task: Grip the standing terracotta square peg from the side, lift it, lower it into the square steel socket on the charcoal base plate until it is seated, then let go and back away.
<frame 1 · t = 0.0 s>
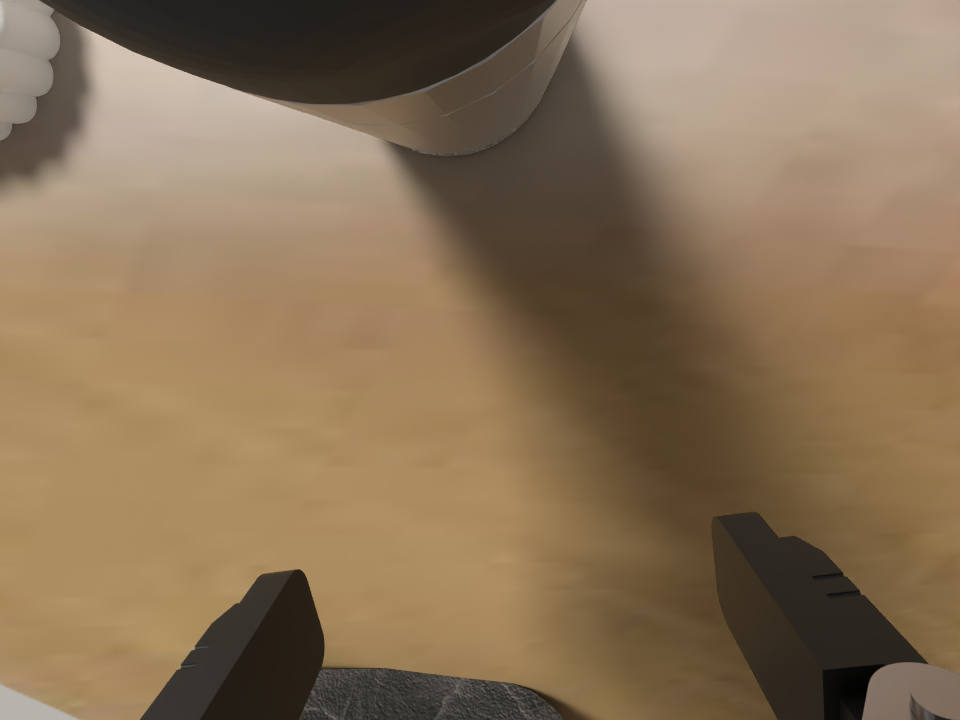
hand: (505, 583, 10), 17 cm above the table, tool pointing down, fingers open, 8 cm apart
hammer: (411, 695, 35), on the table
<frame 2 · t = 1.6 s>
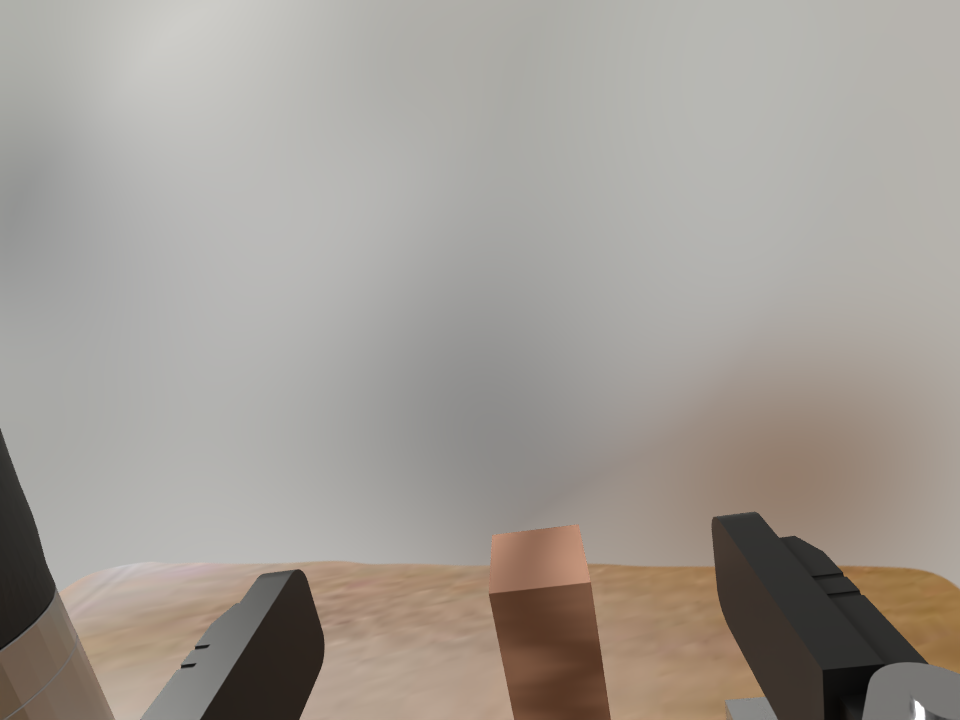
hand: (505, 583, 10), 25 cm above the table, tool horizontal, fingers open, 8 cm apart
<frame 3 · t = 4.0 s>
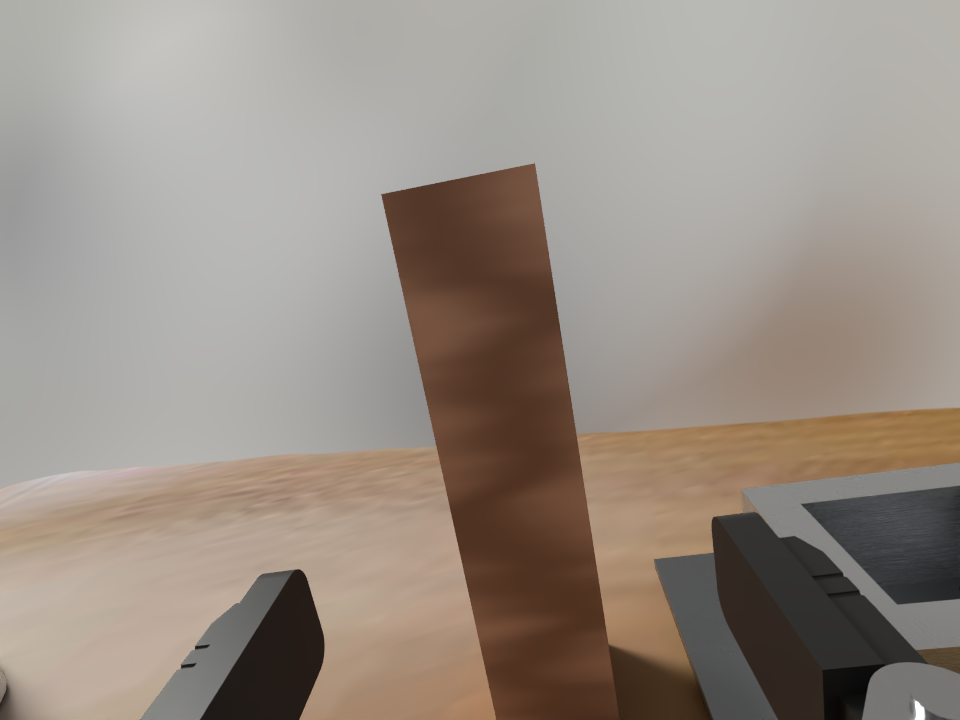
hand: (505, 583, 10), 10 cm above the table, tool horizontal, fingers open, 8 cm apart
socket base: (931, 664, 19), on the table
square peg: (556, 688, 20), on the table
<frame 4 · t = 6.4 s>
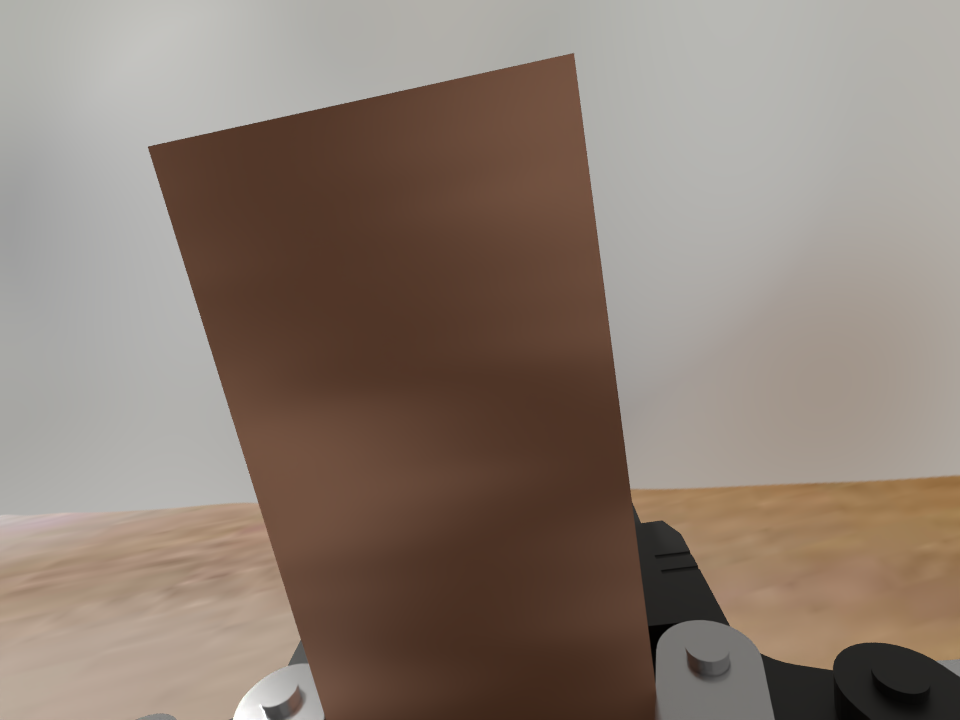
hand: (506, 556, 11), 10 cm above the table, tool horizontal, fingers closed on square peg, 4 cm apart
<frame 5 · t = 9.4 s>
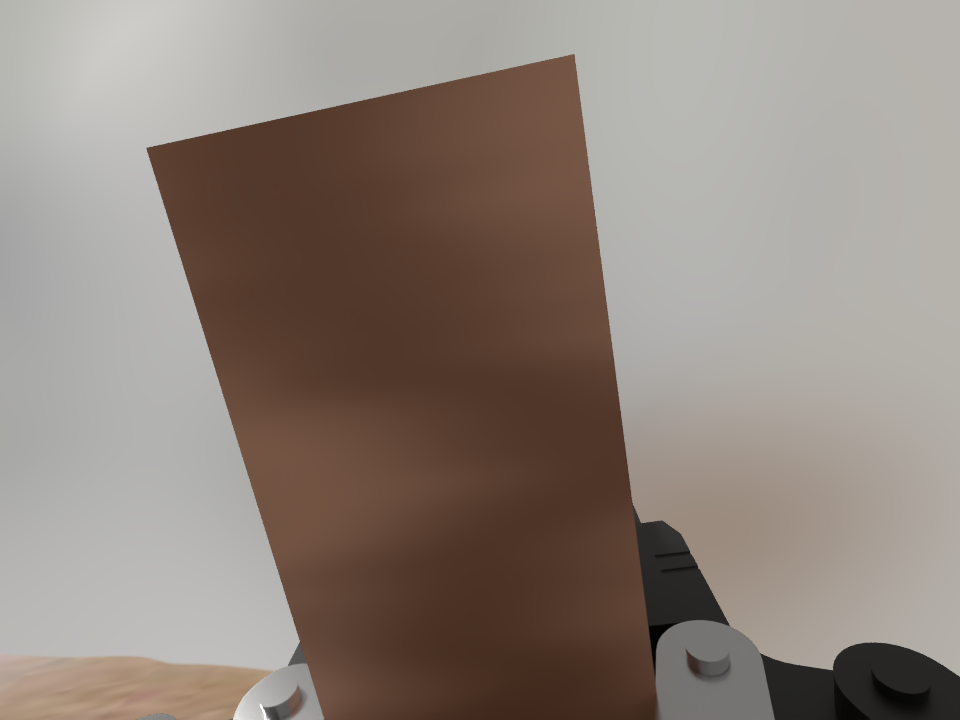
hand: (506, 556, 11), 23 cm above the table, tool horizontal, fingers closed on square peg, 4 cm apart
when the fingers open (11 cm above the table, at t = 12.5 s): square peg stays where it is, resting on socket base.
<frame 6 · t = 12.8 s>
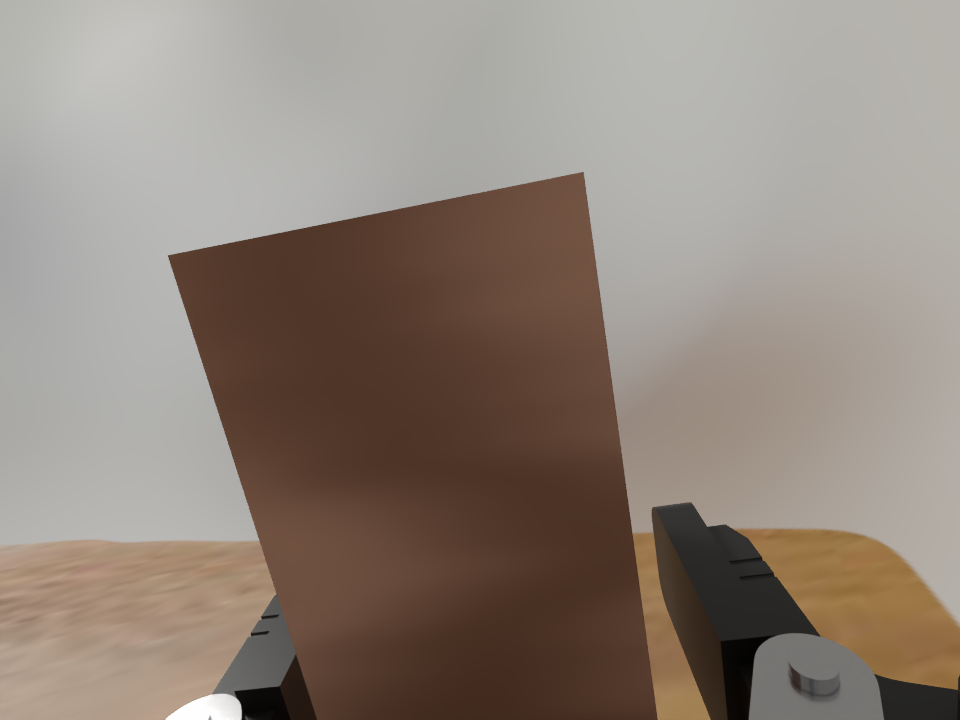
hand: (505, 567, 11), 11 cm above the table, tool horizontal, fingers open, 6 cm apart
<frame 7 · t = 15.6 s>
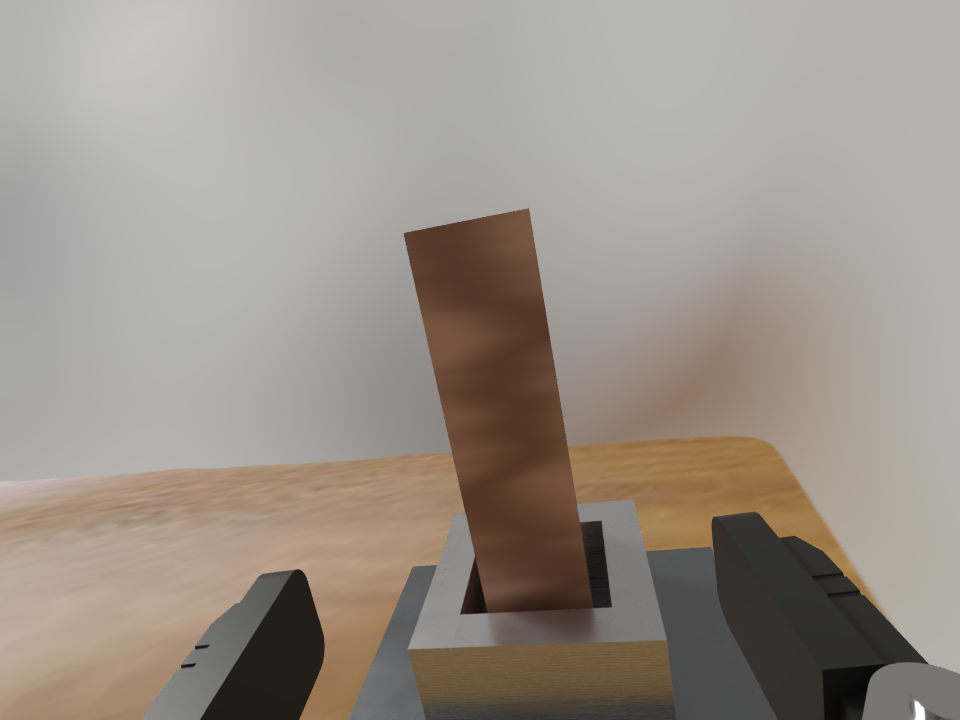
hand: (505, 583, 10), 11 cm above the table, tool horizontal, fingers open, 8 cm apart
socket base: (555, 661, 24), on the table, touching square peg
square peg: (550, 643, 23), resting on socket base
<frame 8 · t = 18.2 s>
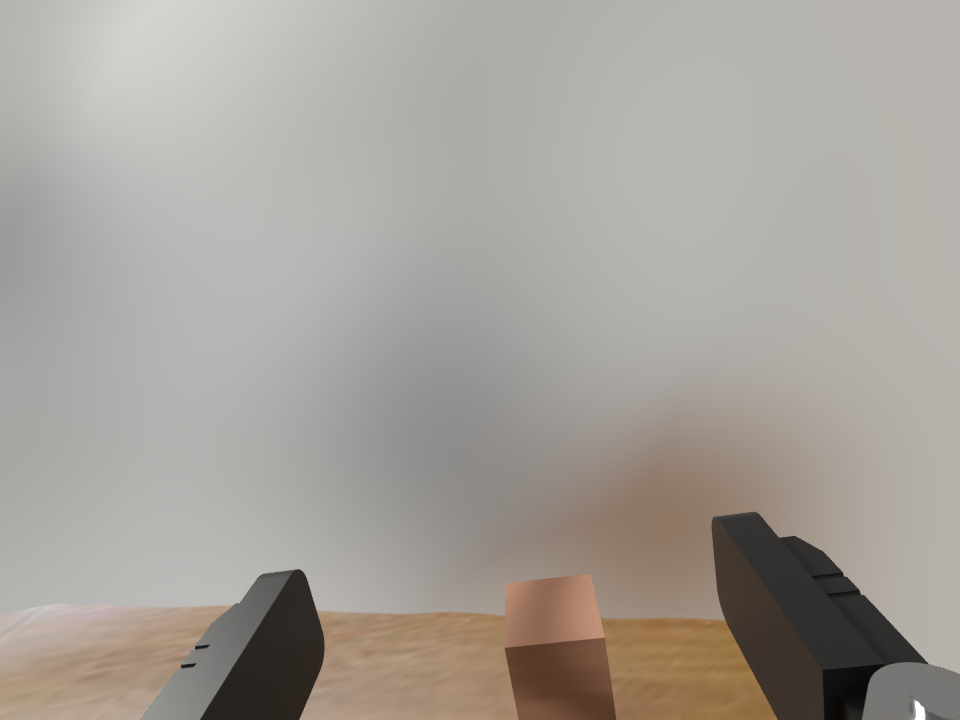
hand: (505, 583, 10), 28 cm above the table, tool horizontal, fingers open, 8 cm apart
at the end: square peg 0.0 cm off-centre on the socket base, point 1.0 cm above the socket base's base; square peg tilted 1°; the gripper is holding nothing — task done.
